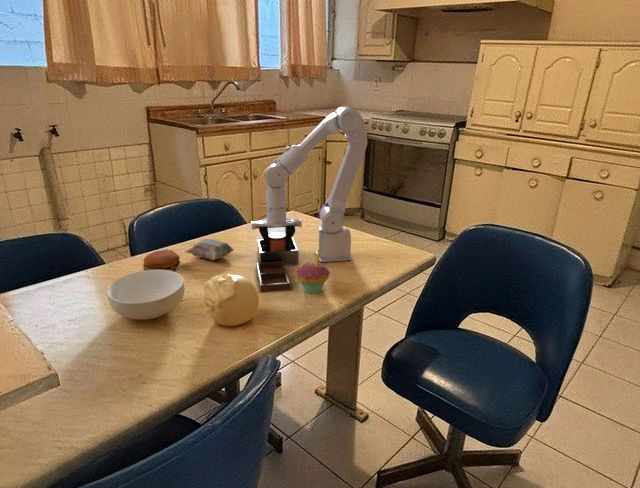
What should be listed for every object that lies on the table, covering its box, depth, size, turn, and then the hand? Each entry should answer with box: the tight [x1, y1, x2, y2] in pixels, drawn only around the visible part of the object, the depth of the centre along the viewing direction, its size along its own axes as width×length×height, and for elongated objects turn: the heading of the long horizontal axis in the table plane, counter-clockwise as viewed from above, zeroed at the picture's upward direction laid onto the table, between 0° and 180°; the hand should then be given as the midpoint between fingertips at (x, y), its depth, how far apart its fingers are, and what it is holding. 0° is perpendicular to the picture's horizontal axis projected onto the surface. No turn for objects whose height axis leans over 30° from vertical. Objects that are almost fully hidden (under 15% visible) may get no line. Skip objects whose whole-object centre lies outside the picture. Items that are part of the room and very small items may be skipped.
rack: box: [256, 261, 291, 293], centre depth 123 cm, size 8×14×2 cm, turn 12°
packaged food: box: [184, 238, 235, 261], centre depth 137 cm, size 9×12×5 cm
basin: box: [257, 236, 299, 266], centre depth 136 cm, size 11×11×4 cm
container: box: [268, 231, 286, 252], centre depth 136 cm, size 5×5×7 cm
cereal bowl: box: [106, 270, 186, 320], centre depth 105 cm, size 17×17×7 cm
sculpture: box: [203, 272, 260, 327], centre depth 102 cm, size 12×12×11 cm
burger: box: [143, 249, 181, 271], centre depth 128 cm, size 10×9×5 cm
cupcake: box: [295, 248, 331, 294], centre depth 116 cm, size 9×8×12 cm
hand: (277, 250), depth 136 cm, fingers closed on container, 5 cm apart
